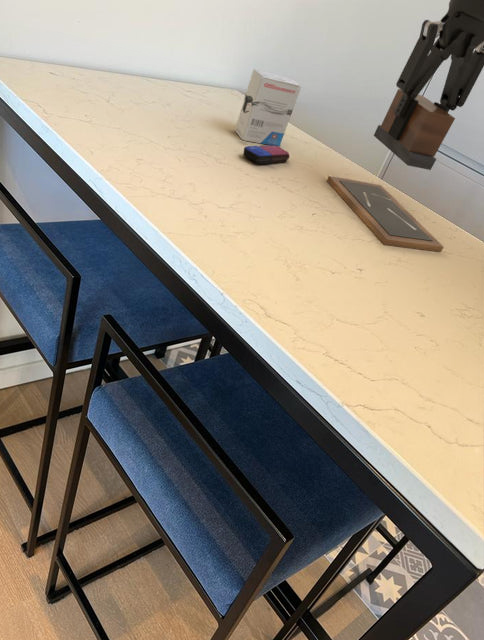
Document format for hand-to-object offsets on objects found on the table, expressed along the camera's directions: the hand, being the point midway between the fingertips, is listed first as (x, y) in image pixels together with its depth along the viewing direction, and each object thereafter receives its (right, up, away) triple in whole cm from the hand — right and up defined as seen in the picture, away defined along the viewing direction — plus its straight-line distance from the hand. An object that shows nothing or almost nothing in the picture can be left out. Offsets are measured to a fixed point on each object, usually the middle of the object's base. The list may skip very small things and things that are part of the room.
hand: (407, 139), depth 98 cm
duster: (-1, -2, +1) cm, 2 cm away
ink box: (-25, +6, +15) cm, 29 cm away
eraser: (-24, -1, +7) cm, 25 cm away
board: (-4, -12, +3) cm, 13 cm away
